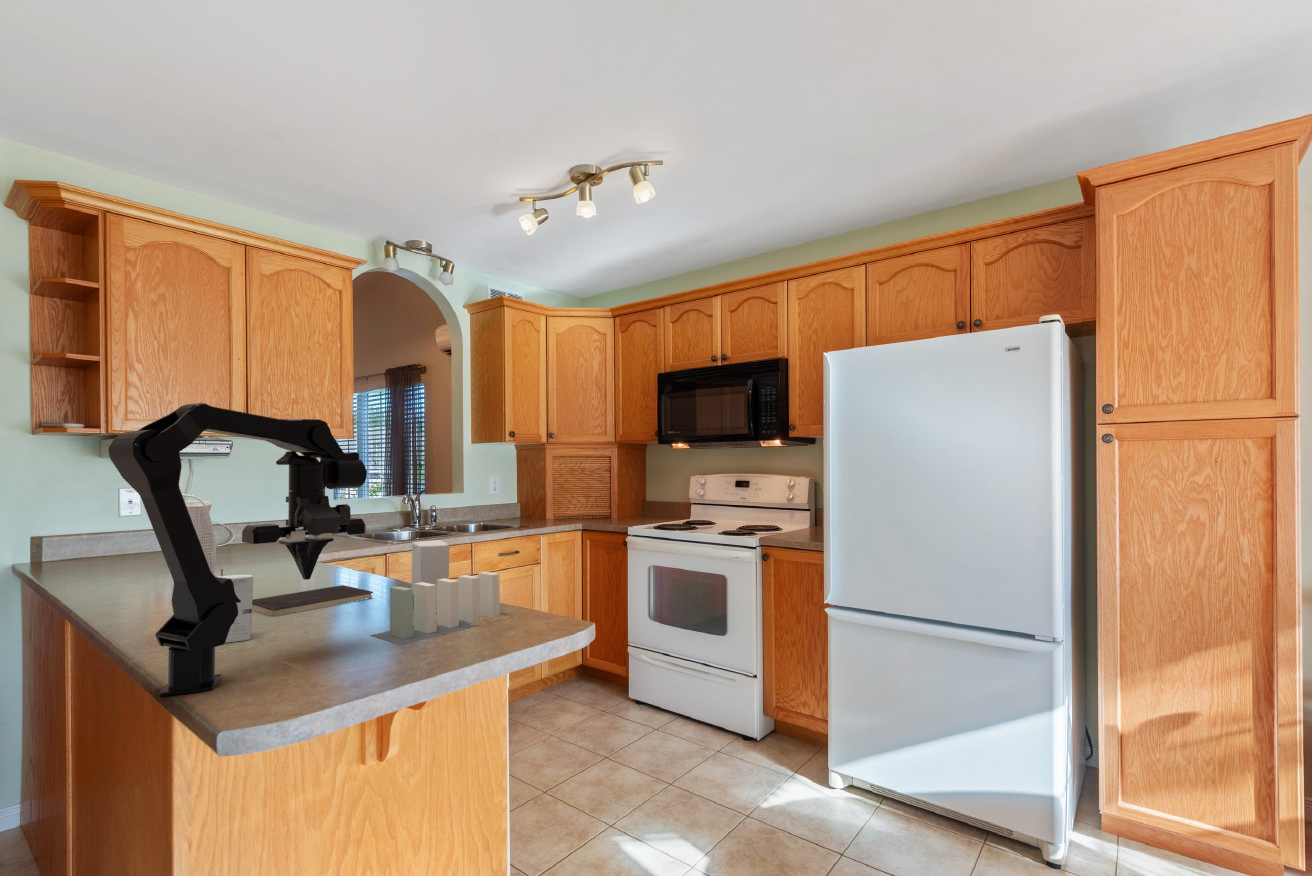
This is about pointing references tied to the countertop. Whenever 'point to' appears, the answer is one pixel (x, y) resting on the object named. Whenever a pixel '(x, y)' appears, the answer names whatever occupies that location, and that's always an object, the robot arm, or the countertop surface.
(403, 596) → the domino
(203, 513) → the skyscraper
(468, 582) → the domino
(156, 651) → the countertop surface
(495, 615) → the domino
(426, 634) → the mat
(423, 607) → the domino
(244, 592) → the skincare box
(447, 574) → the skincare box
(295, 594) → the hardcover book
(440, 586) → the domino
